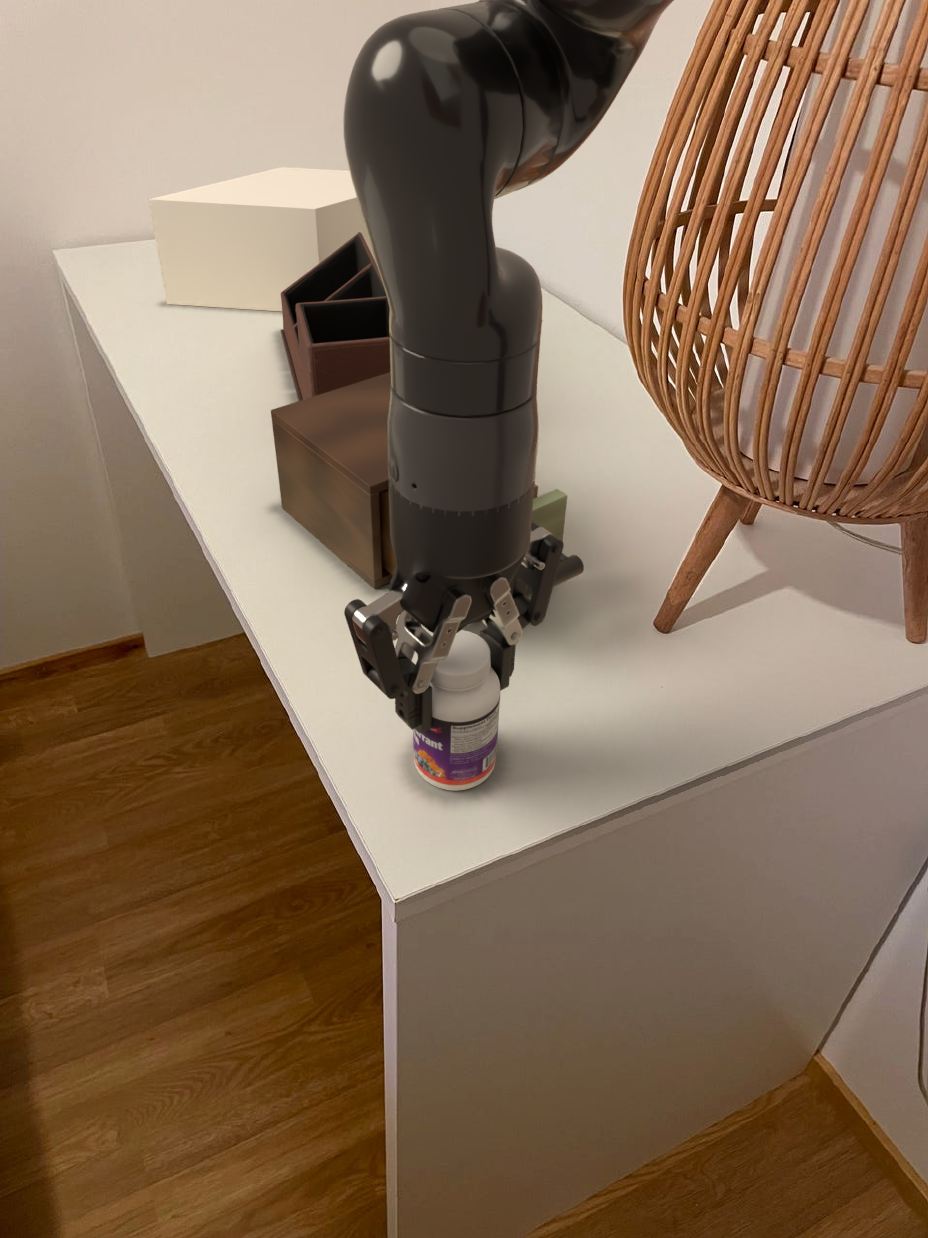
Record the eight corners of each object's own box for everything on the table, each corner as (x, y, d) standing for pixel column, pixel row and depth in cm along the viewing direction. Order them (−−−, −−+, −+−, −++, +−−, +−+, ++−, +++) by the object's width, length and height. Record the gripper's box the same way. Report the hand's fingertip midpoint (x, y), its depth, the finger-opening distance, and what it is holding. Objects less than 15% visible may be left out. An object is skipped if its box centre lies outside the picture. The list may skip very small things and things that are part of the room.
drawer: (600, 608, 75) (613, 524, 70) (486, 669, 69) (490, 582, 64) (455, 503, 86) (456, 423, 81) (346, 548, 80) (340, 466, 75)
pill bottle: (400, 745, 65) (397, 635, 58) (474, 722, 66) (478, 612, 60) (433, 804, 61) (433, 693, 55) (510, 777, 63) (518, 666, 56)
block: (158, 278, 126) (140, 177, 119) (414, 251, 136) (413, 156, 128) (176, 331, 114) (157, 223, 106) (457, 297, 124) (459, 195, 116)
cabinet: (496, 535, 84) (501, 436, 77) (374, 589, 77) (369, 486, 71) (398, 464, 92) (395, 369, 86) (281, 507, 86) (270, 409, 80)
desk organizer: (312, 459, 93) (302, 347, 85) (280, 333, 114) (269, 235, 107) (420, 448, 95) (420, 337, 87) (368, 326, 116) (364, 229, 109)
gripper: (387, 549, 44) (396, 795, 55) (614, 453, 51) (582, 687, 62) (300, 477, 48) (324, 718, 59) (520, 398, 55) (505, 626, 66)
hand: (456, 701), depth 60 cm, fingers closed on pill bottle, 5 cm apart
